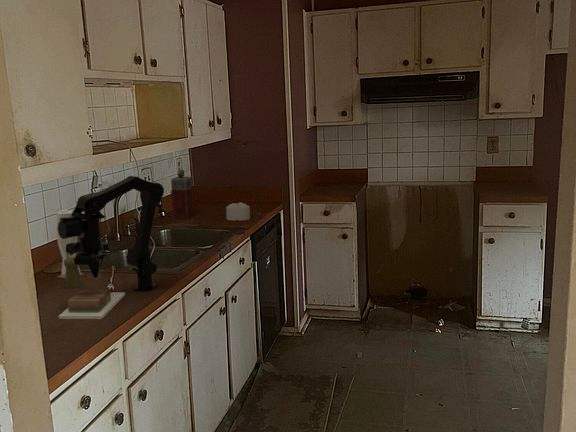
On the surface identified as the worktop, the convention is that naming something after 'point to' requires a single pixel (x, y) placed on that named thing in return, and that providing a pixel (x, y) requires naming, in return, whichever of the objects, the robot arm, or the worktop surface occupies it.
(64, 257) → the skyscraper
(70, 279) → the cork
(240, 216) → the lumpy-topped squat cylinder
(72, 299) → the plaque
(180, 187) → the square decanter
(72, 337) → the worktop surface
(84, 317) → the board
